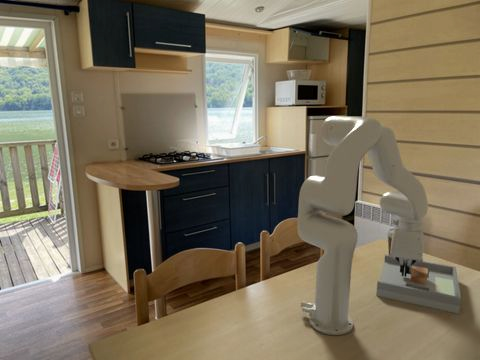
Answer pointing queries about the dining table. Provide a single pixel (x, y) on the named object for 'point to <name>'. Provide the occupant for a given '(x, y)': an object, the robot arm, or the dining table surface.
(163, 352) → the dining table surface
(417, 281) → the block
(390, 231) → the disposable coffee cup
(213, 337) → the dining table surface
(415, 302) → the box
